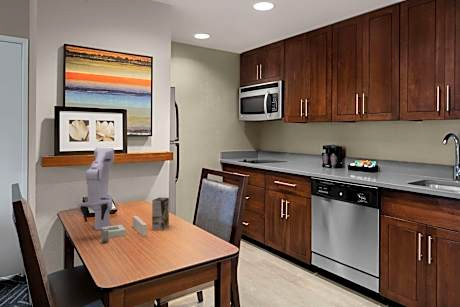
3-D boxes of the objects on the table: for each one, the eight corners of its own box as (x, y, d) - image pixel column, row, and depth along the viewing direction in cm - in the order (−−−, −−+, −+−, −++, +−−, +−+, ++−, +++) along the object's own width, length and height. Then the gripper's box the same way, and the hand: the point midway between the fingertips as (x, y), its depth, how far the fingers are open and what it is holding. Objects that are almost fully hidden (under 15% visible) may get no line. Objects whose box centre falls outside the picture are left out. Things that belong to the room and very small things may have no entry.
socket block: (101, 232, 170) (101, 227, 170) (121, 230, 175) (121, 224, 175) (105, 238, 162) (104, 232, 162) (125, 235, 167) (125, 229, 167)
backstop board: (132, 226, 182) (132, 216, 182) (136, 226, 183) (136, 215, 183) (142, 236, 165) (142, 224, 165) (146, 236, 166) (146, 224, 166)
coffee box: (162, 230, 176) (162, 200, 175) (151, 229, 177) (151, 200, 176) (169, 225, 185) (169, 197, 184) (158, 225, 186) (158, 196, 185)
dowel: (101, 241, 157) (101, 229, 156) (107, 240, 158) (107, 228, 158) (102, 243, 154) (102, 231, 154) (108, 242, 156) (108, 230, 155)
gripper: (79, 195, 154) (79, 224, 155) (111, 193, 162) (111, 220, 163) (76, 193, 160) (77, 221, 161) (107, 191, 168) (108, 217, 169)
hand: (94, 220), depth 162 cm, fingers open, 7 cm apart
